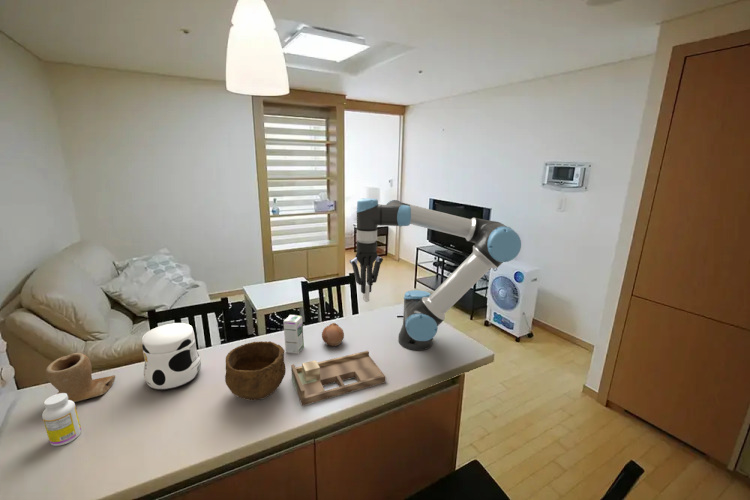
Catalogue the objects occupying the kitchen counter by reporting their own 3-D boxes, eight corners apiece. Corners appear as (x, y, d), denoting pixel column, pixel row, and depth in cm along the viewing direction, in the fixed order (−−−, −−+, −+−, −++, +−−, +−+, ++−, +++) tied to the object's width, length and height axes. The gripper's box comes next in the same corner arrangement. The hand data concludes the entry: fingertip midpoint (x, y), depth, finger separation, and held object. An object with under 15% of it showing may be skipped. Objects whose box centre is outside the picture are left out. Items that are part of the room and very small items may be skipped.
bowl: (297, 382, 119) (295, 345, 116) (264, 419, 102) (260, 376, 98) (253, 371, 125) (250, 335, 122) (214, 404, 108) (209, 363, 104)
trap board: (367, 359, 134) (367, 347, 133) (385, 382, 121) (385, 368, 119) (291, 378, 122) (291, 364, 120) (301, 405, 108) (301, 391, 107)
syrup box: (298, 354, 137) (297, 321, 133) (284, 352, 138) (283, 320, 134) (304, 347, 142) (302, 315, 139) (291, 345, 143) (289, 314, 140)
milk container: (139, 378, 120) (131, 332, 115) (191, 359, 132) (186, 317, 128) (154, 402, 109) (146, 352, 104) (209, 378, 121) (204, 333, 116)
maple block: (316, 369, 123) (315, 360, 122) (320, 377, 119) (319, 367, 117) (302, 373, 121) (302, 363, 120) (305, 381, 116) (305, 371, 115)
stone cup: (45, 415, 102) (34, 372, 98) (61, 391, 113) (51, 351, 109) (107, 402, 108) (98, 360, 105) (117, 380, 119) (109, 342, 115)
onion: (332, 345, 149) (333, 322, 151) (348, 347, 144) (349, 323, 146) (316, 346, 142) (317, 322, 144) (332, 348, 136) (333, 322, 138)
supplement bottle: (63, 428, 97) (53, 390, 94) (87, 427, 98) (78, 389, 95) (43, 448, 91) (31, 407, 88) (69, 446, 91) (59, 406, 88)
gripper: (378, 237, 130) (377, 294, 136) (346, 240, 125) (346, 299, 131) (387, 241, 124) (385, 301, 130) (354, 244, 118) (353, 306, 124)
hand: (366, 300), depth 130 cm, fingers closed
